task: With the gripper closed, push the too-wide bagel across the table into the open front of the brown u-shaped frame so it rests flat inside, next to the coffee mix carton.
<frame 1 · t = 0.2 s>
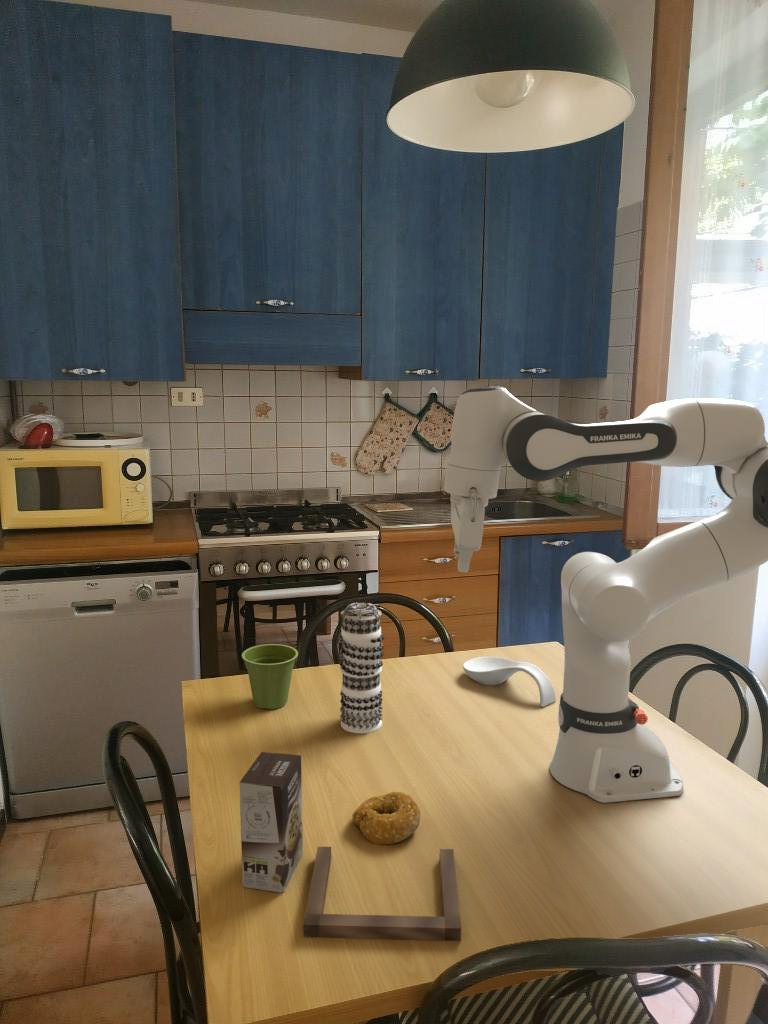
hand: (460, 563, 129), 39 cm above the table, tool pointing down, fingers open, 8 cm apart
decorative candle: (361, 724, 155), on the table
spoon rest: (508, 689, 173), on the table
coffee box: (274, 871, 110), on the table
bagel: (386, 828, 121), on the table
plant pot: (271, 703, 165), on the table
brown u-shaped frame: (383, 895, 105), on the table
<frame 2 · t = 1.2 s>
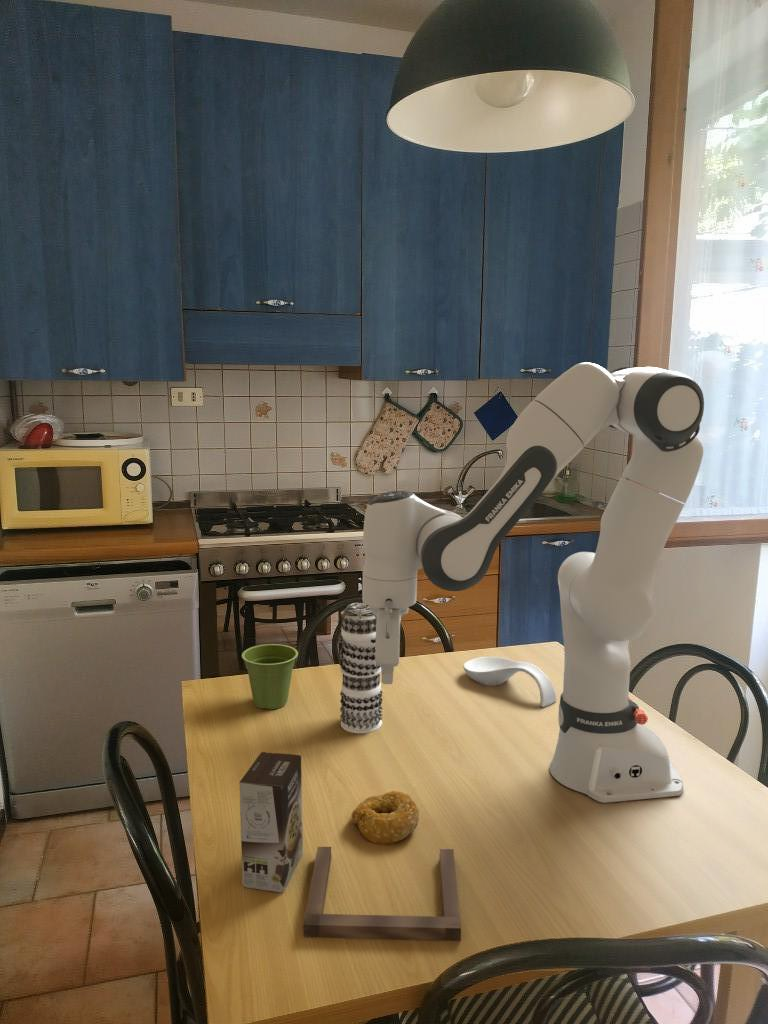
hand: (387, 671, 126), 22 cm above the table, tool pointing down, fingers open, 8 cm apart
nothing on the table moved.
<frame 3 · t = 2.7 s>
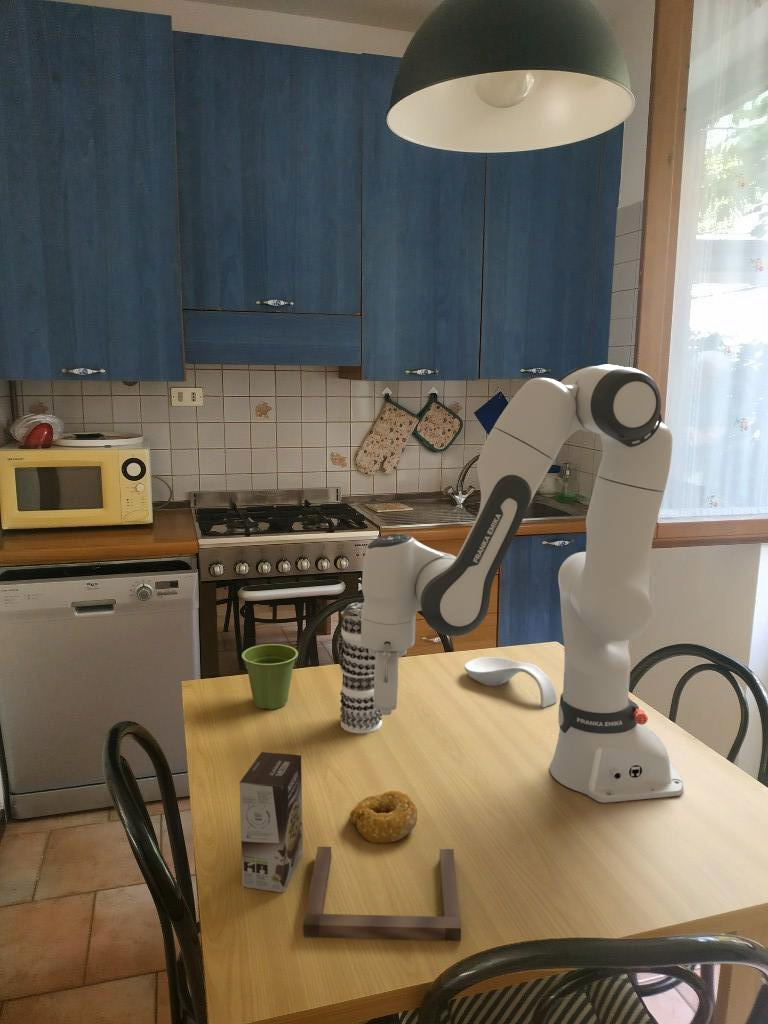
hand: (385, 711, 128), 15 cm above the table, tool pointing down, fingers closed
nothing on the table moved.
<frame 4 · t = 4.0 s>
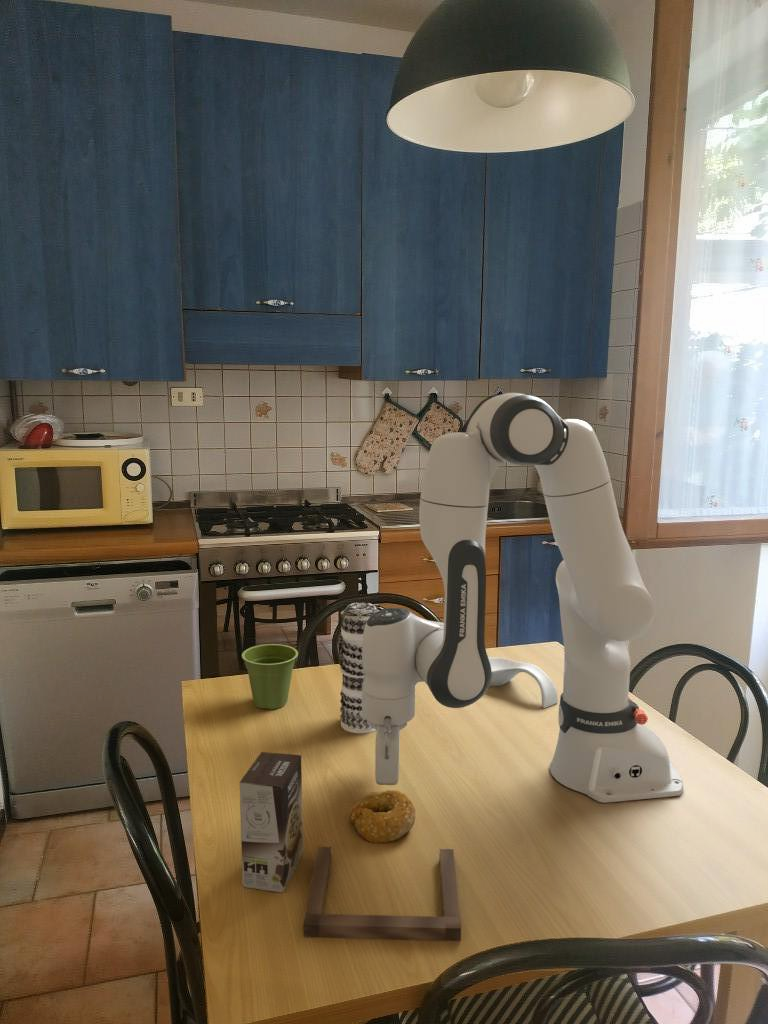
hand: (388, 780, 130), 2 cm above the table, tool pointing down, fingers closed
nothing on the table moved.
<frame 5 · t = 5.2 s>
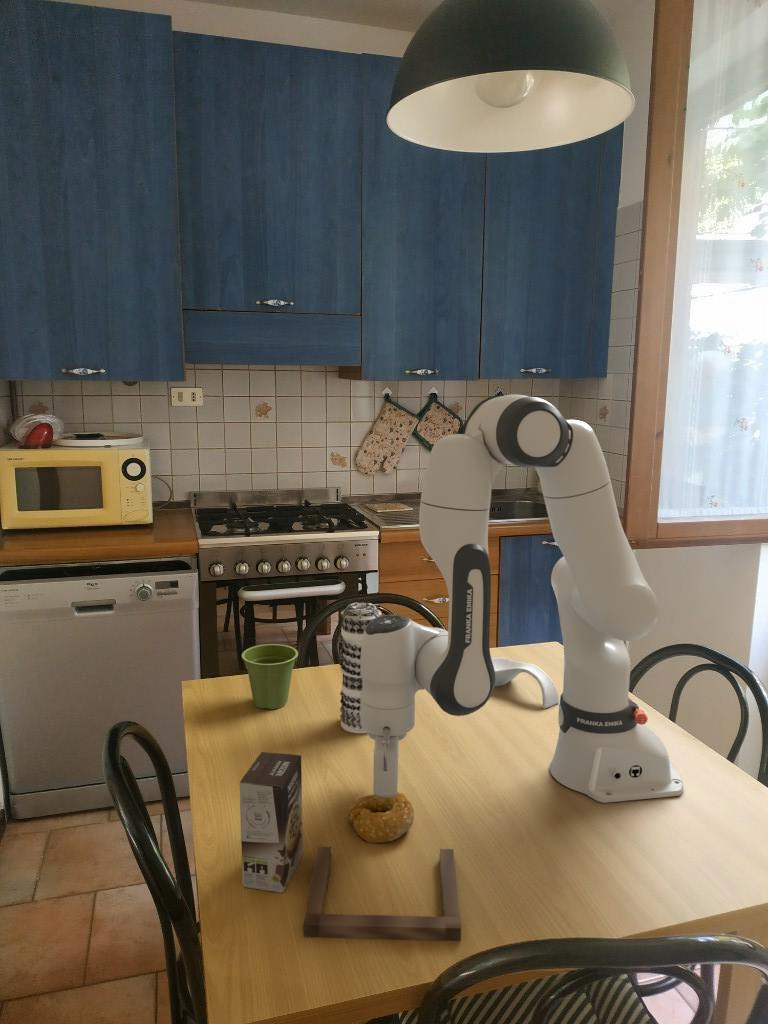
hand: (387, 792, 126), 2 cm above the table, tool pointing down, fingers closed
bagel: (379, 827, 121), on the table, touching gripper
everything else where it was.
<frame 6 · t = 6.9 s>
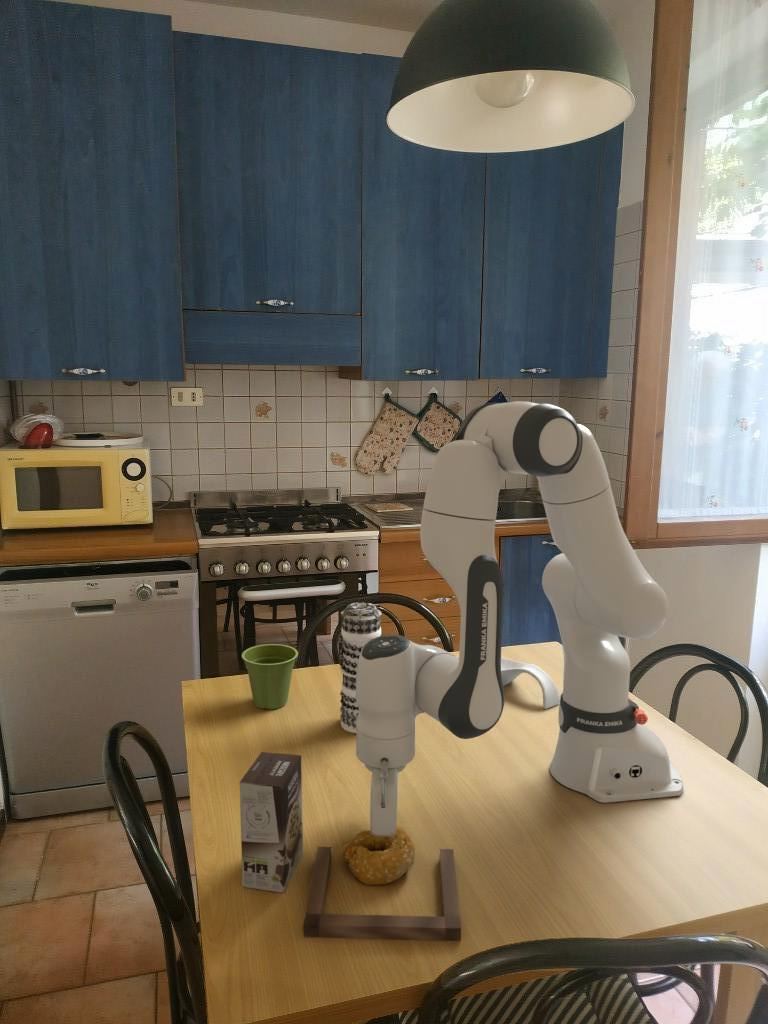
hand: (385, 826, 117), 2 cm above the table, tool pointing down, fingers closed
bagel: (377, 866, 111), on the table, touching gripper
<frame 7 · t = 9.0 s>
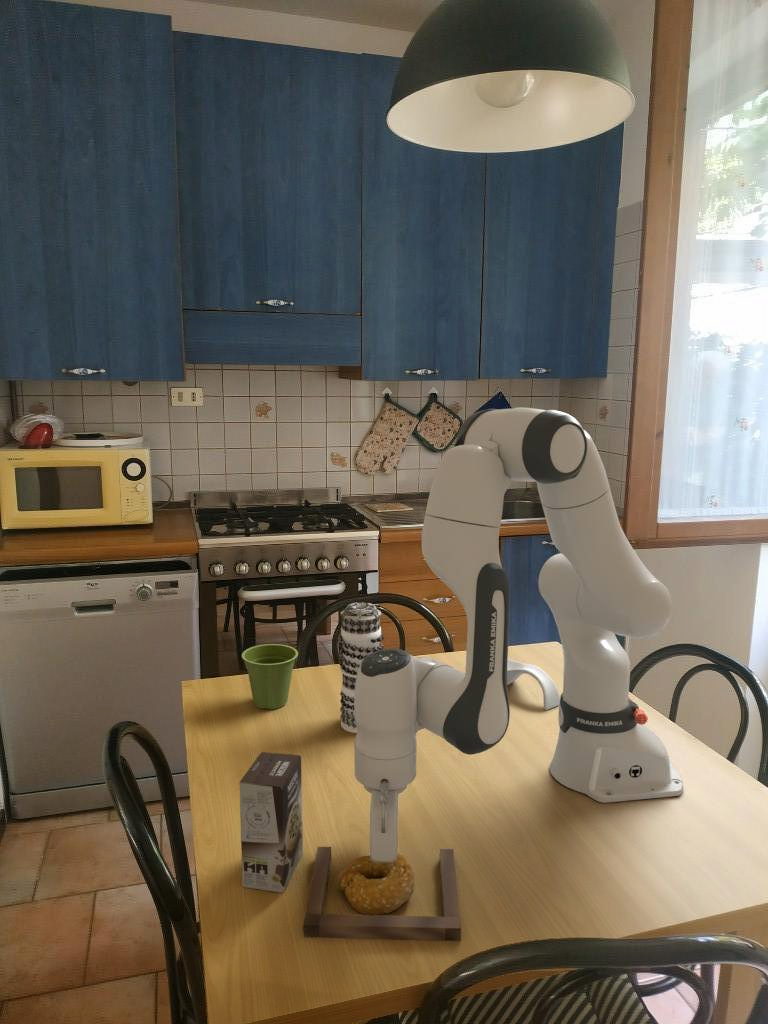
hand: (385, 850, 111), 2 cm above the table, tool pointing down, fingers closed
bagel: (375, 894, 106), on the table
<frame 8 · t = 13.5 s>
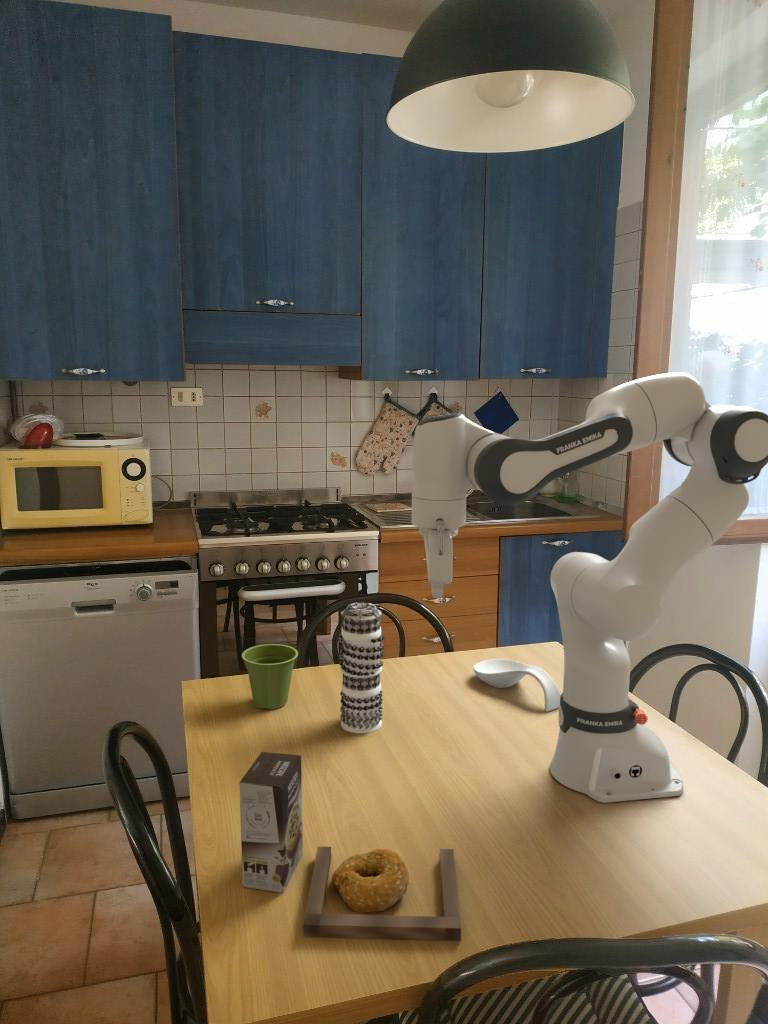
hand: (437, 595, 127), 34 cm above the table, tool pointing down, fingers closed
at the end: bagel inside the target area on the brown u-shaped frame (2.2 cm from its centre), point 0.0 cm above the brown u-shaped frame's base; bagel tilted 0°; bagel moved 14.9 cm from its start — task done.
